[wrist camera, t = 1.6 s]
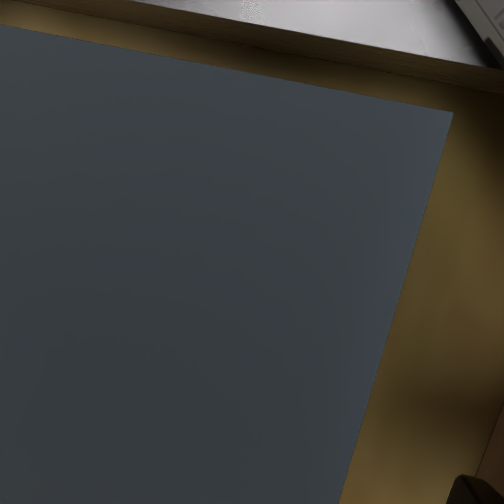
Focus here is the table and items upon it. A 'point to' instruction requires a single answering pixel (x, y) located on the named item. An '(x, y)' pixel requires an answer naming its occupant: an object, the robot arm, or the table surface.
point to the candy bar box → (487, 23)
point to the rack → (327, 32)
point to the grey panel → (193, 274)
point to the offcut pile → (494, 458)
